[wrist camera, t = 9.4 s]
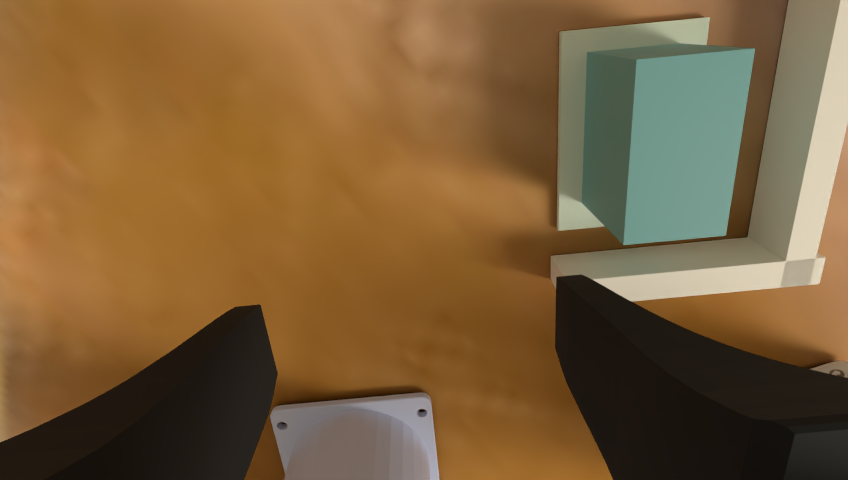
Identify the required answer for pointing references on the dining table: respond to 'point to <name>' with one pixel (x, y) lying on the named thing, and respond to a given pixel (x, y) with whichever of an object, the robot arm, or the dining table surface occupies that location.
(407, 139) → the dining table surface
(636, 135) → the teal brick
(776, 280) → the corner walls
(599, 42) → the pad
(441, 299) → the dining table surface
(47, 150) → the dining table surface
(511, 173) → the dining table surface
